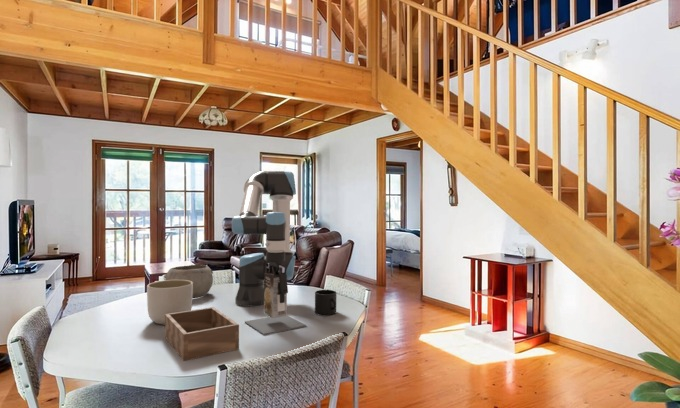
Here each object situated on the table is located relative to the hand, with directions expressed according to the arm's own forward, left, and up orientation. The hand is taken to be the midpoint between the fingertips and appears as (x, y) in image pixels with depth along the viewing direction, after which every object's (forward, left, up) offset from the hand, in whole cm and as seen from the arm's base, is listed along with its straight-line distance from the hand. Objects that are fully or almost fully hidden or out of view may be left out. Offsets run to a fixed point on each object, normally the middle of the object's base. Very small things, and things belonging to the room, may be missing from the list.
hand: (275, 308), depth 157 cm
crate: (+3, -30, -7) cm, 31 cm away
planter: (-28, -33, -7) cm, 44 cm away
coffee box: (0, 0, -3) cm, 3 cm away
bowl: (-68, -15, -7) cm, 70 cm away
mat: (0, 0, -7) cm, 7 cm away
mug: (-2, +26, -7) cm, 27 cm away
